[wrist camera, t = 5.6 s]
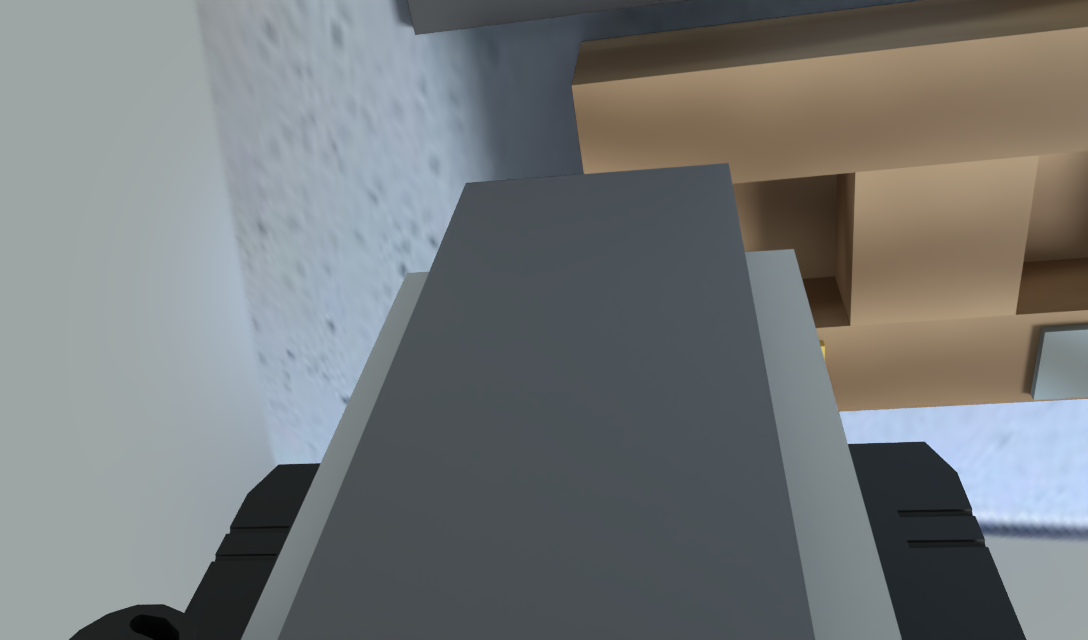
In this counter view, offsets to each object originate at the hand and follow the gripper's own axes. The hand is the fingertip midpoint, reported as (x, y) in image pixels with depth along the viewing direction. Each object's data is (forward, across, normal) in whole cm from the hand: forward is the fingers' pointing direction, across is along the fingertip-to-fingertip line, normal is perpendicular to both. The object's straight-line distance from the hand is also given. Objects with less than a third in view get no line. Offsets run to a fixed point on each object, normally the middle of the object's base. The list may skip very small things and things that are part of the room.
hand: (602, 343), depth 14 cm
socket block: (+17, +9, -6) cm, 20 cm away
